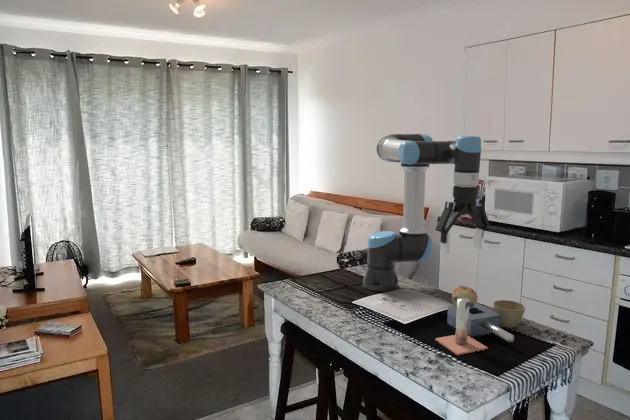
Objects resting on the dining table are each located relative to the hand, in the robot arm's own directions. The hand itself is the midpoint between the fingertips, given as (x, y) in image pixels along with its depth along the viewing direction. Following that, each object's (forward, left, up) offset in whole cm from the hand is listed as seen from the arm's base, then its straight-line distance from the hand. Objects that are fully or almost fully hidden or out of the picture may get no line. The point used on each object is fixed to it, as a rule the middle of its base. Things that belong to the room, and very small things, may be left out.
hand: (461, 250), depth 150 cm
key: (+9, -6, -27) cm, 29 cm away
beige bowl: (+2, +19, -28) cm, 34 cm away
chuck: (+6, +6, -27) cm, 29 cm away
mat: (+9, -6, -27) cm, 29 cm away
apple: (-16, +15, -28) cm, 35 cm away
